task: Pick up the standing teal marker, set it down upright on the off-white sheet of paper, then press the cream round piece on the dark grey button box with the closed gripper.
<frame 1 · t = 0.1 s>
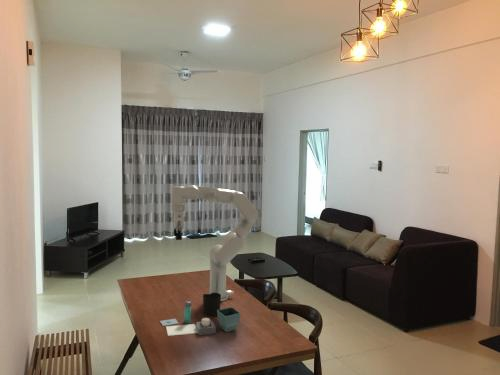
hand: (177, 237, 231), 37 cm above the table, tool pointing down, fingers open, 9 cm apart
cream round piece: (205, 323, 197), point 4 cm above the table, slide at 0.0 cm
flower pot: (228, 329, 199), on the table
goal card: (169, 322, 205), on the table
marker: (187, 321, 206), on the table
pen holder: (211, 313, 218), on the table
button box: (205, 330, 197), on the table
paper: (181, 330, 197), on the table
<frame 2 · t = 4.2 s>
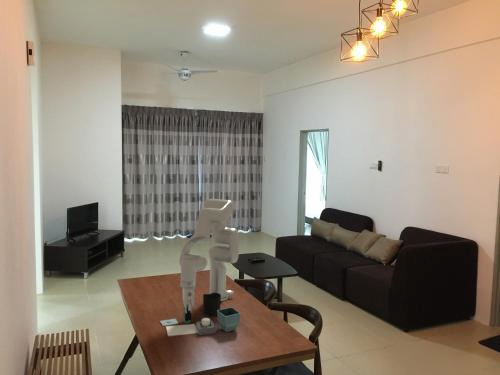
hand: (187, 318, 206), 2 cm above the table, tool pointing down, fingers closed on marker, 3 cm apart
marker: (187, 321, 206), on the table, touching gripper
everything else where it was.
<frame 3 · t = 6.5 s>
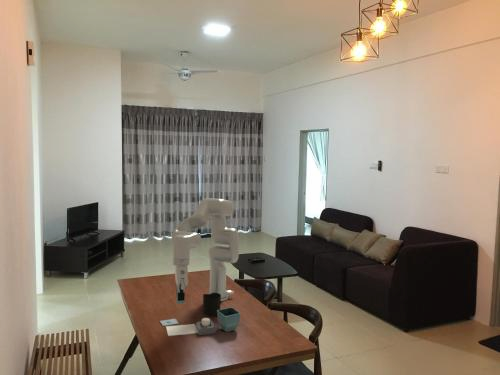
hand: (180, 298, 194), 16 cm above the table, tool pointing down, fingers closed on marker, 3 cm apart
marker: (180, 302, 194), point 14 cm above the table, touching gripper
everything else where it was.
when the fingers open (3 cm above the table, at t = 8.9 s): marker drops 1 cm, resting on paper.
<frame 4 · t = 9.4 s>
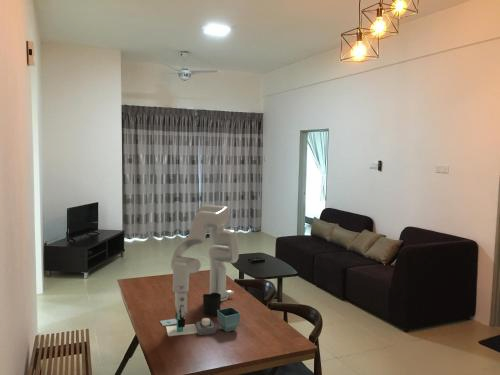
hand: (180, 322, 195), 4 cm above the table, tool pointing down, fingers open, 8 cm apart
marker: (179, 330, 195), resting on paper
everything else where it was.
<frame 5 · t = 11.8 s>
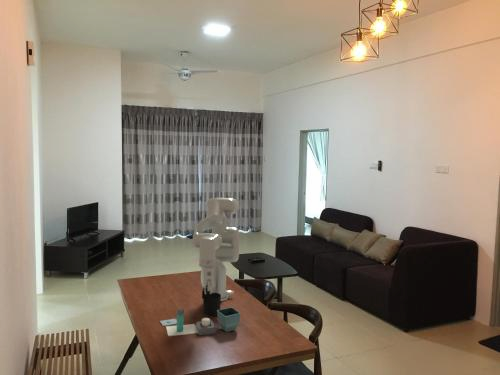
hand: (206, 299, 196), 15 cm above the table, tool pointing down, fingers open, 3 cm apart
nothing on the table moved.
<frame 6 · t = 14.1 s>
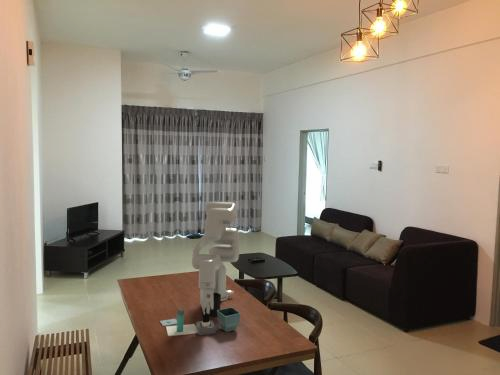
hand: (205, 321, 196), 5 cm above the table, tool pointing down, fingers closed
cream round piece: (205, 325, 197), point 3 cm above the table, slide at 1.0 cm, touching gripper
everything else where it was.
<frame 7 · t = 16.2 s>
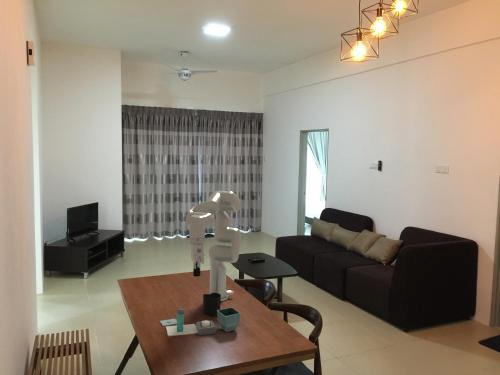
hand: (196, 275, 205), 24 cm above the table, tool pointing down, fingers closed
cream round piece: (205, 325, 197), point 2 cm above the table, slide at 1.3 cm
everything else where it was.
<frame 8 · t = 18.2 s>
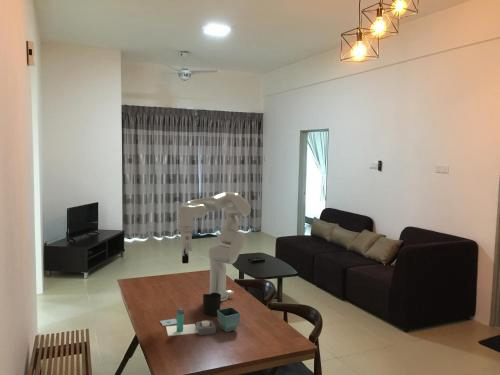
hand: (185, 262, 216), 27 cm above the table, tool pointing down, fingers closed
nothing on the table moved.
at the end: marker inside the target area on the paper (1.4 cm from its centre), point 0.4 cm above the paper's base; marker tilted 3°; cream round piece slide at 1.3 cm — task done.
